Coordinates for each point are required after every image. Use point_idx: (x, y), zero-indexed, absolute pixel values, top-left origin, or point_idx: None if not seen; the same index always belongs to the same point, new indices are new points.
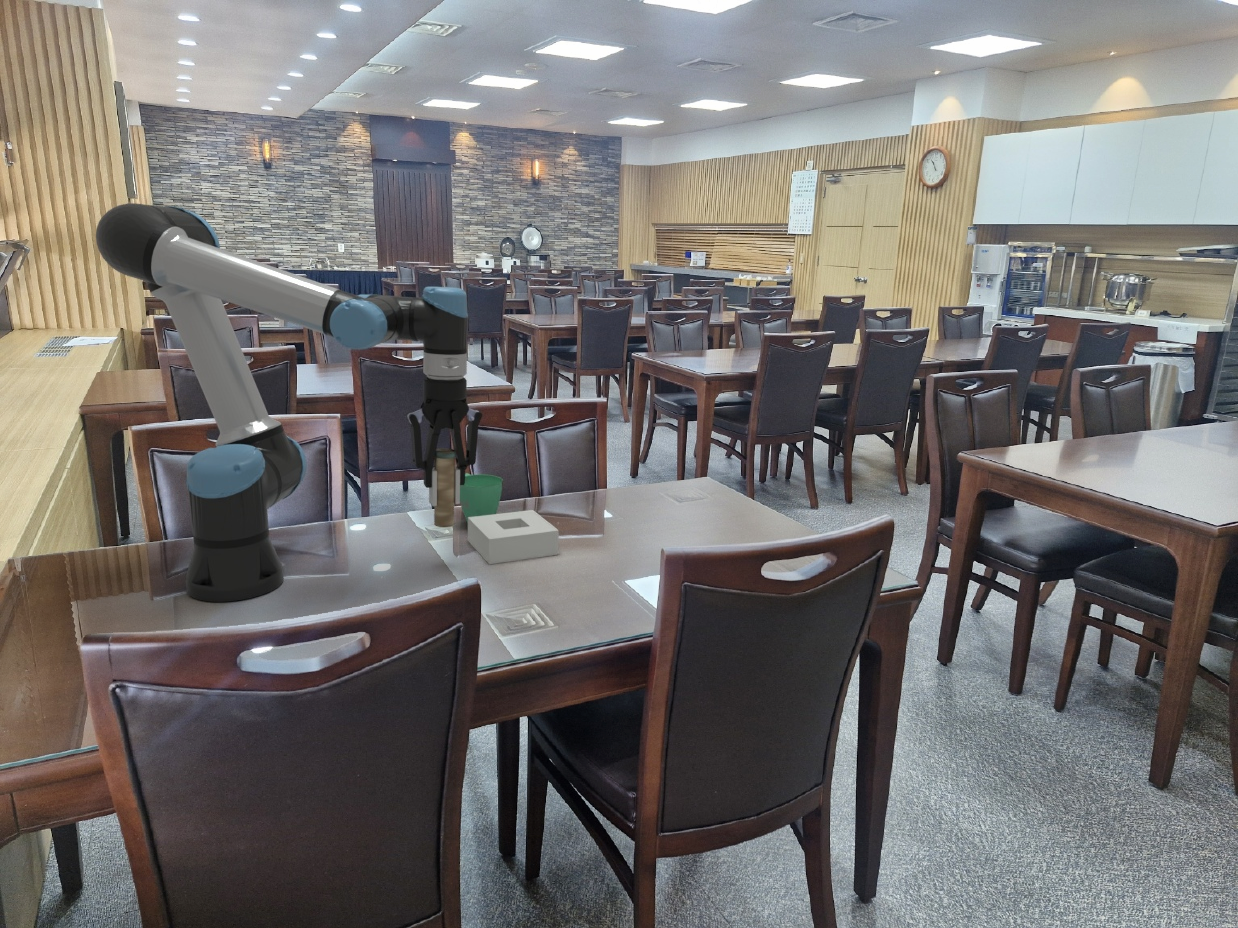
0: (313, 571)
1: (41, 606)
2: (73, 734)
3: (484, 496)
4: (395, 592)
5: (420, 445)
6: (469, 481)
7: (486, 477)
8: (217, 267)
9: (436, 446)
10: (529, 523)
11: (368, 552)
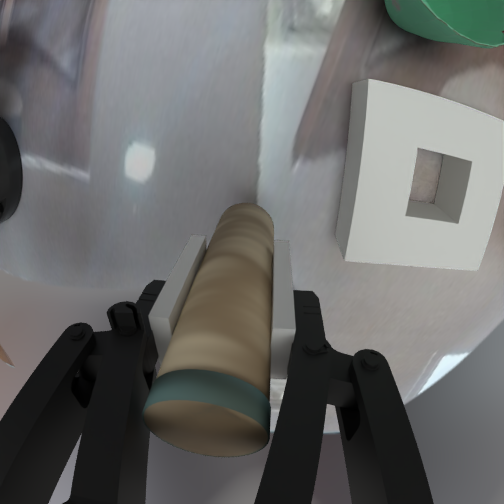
0: (48, 146)
1: None
2: (6, 356)
3: (448, 38)
4: (149, 275)
5: (67, 451)
6: None
7: None
8: None
9: (144, 468)
10: (467, 205)
11: (129, 74)
